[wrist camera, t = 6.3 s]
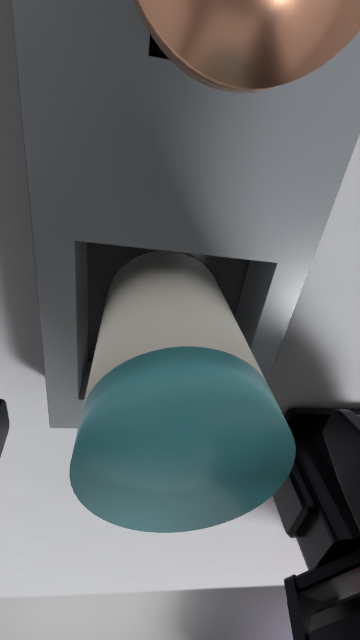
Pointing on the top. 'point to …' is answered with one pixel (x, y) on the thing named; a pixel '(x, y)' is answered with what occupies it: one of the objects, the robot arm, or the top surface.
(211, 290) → the cylinder
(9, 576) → the top surface
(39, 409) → the top surface
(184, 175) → the housing
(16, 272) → the top surface
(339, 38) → the plunger
